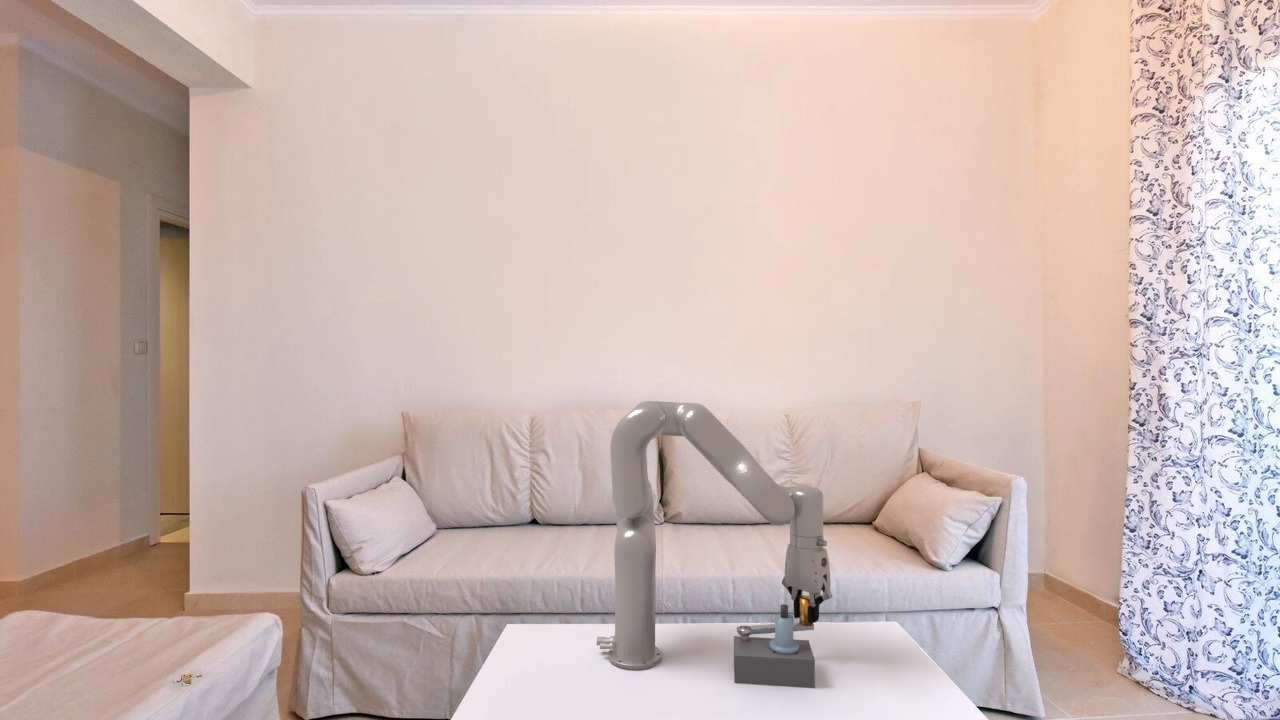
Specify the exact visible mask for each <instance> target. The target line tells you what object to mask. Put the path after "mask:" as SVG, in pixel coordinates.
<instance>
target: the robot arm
mask: <svg viewBox="0 0 1280 720" xmlns="http://www.w3.org/2000/svg"><path fill="white" fill-rule="evenodd" d="M611 435H612V436H611V438H610V449H609V450H610V473H611V484H612V485H611V486H612V495H611V496H612V497H611V498H612V503H613V506H614V509H615V519H616V530H617V531H616V535H615V539H614V540H615V542H614V547H613V548H614V552H613V553H614V555H613V557H614V635H611V636H610V637H605V636H597V637H596V645H597V646H599V649H600V650H608V653H607V655H608V656H607V659H608V660H609V662H610V663H611V664H612V665H614V666H616V667H618V668H621V669H626V670H643V669H644V670H645V669H649V668H652V667H654V666H656V665H659V663H660V662H661V661H662V658H663V656H662V654H663V653H662V649H660V648H659V647H658V646H656V565H657V564H656V561H657V539H656V538H657V536H656V533H657V532H656V524H655V523H656V522H655V514H654V513H655V512H654V510H655V509H654V500H653V488H652V484H651V481H650V480H649V474H648V457H647V449H648V445H649V443H651V441H652V440H654V439H655V438H657V437H658V436H664V437H665V436H666V437H668V436H669V437H684V439H686V440H687V441H688V442H689V443H690V444H691V445H692V446H693V447H694V449H696V451H697V452H699V453H700V455H702V456H703V458H704V459H705V460H707V461H708V463H709V464H710V465H711V466H712V467H713V468H714V469H715V470H716V471H717V472H718V473H719V474H720V475H721V476H722V478H724V480H725V481H727V482H728V483H729V484H730V485H732V487H733V488H735V490H737V492H739V494H740V495H741V496H742V497H743V498H744V499H745V500H746V501H747V502H748V503H749V504H750V505H751V506H752V508H754V509H755V510H756V512H758V513H759V514H760V516H762V517H763V518H764V519H765V521H767V522H768V523H770V524H771V525H774V526H779V527H780V526H785V525H787V524H789V543H788V544H787V548H786V554H785V560H784V561H785V562H784V577H783V578H782V580H781V584H782V586H784V588H785V589H787V591H788V593H789V594H790V598H791V600H792V601H793V618H794V619H799V597H800V596H803V595H804V594H803V592H806V593H809V595H808V596H810V606H809V607H808V622H809V623H810V624H812V623H813V624H815V623H816V622H818V621H819V618H820V605H822V604H823V602H825V601H827V600H830V599H832V598H833V594H832V591H831V568H830V561H829V555H828V551H827V548H825V547H827V546H828V540H825V539H824V494H823V492H822V490H821V489H820V488H816V487H812V486H797V487H791V486H784V485H779V484H778V483H777V482H776V481H775V480H774V479H773V478H772V477H771V476H770V475H769V473H767V471H765V469H764V468H763V467H762V466H761V465H760V464H759V462H758V461H757V460H756V459H755V458H754V456H753V455H752V453H751V451H749V450H748V449H747V448H746V447H745V445H744V444H743V443H742V442H741V441H740V440H738V438H737V437H735V435H733V433H732V432H730V430H729V429H727V428H726V426H725V425H724V424H723V423H722V422H721V420H720V419H718V418H717V417H716V416H715V415H714V414H713V413H712V412H711V411H710V410H709V409H708V408H707V407H706V406H704V405H703V404H700V403H696V402H694V403H693V402H673V401H658V400H656V401H655V400H645V401H641V402H639V403H638V404H637V405H636V406H634V408H633V409H632V410H630V411H629V412H628V413H626V414H625V415H624V416H623V417H622V418H621V419H620V420H619V422H618V423H617V425H616V426H615V428H614V430H613V432H612V434H611ZM821 592H822V593H821Z"/></svg>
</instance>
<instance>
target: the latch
mask: <svg viewBox="0 0 1280 720" xmlns="http://www.w3.org/2000/svg"><path fill="white" fill-rule="evenodd" d="M809 606H810V595H806V594H802V596H800V597H799V618H798V620H799V621H798V622H797V621H796V622H793V632H805V631H815V623H812V624H810V623H809V622H808V607H809ZM736 632H737V634H738V635H739V636H741V635H743V636H749V637H750V636H751V635H752V636H753V635H762V634H763V635H765V634H766V635H767V634H775V623H772V624H758V625H756V624H755V625H740V626H736Z"/></svg>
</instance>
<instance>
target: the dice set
mask: <svg viewBox="0 0 1280 720" xmlns="http://www.w3.org/2000/svg"><path fill="white" fill-rule="evenodd" d="M192 674H193V673H192V672H191V673H188V674H186V675H185V676H186V677H182V683H183V682H184V683H185V684H189V685H188V686H190V685H191V684H192V680H191V677H192ZM198 674H199V675H197V674H196V677H197V676H199V677H198V678H200V677H202V676H203V672H201V674H200V673H198ZM192 678H193V677H192Z"/></svg>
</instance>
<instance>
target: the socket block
mask: <svg viewBox="0 0 1280 720" xmlns="http://www.w3.org/2000/svg"><path fill="white" fill-rule="evenodd" d="M772 639H775V637H773V638H772V637H756V636H750V635H749V636H743V635H739V636H738V635H736V636H735V635H734V636H733V679H734V684H746V685H761V686H772V687H773V686H774V687H775V686H776V687H792V688H805V689H807V688H808V689H815V688H816V687H815V685H816V675H815V674H816V672H815V671H816V659H815V656H814V653H813V650H812V646H811V644H810V640H808V639H794V638H793V640H794V641H796V642H797V643H798V644H799V651H798V652H797V653H796V654H792V655H783V654H778V653H775V652H773V651H772V650H771V649H770V641H771V640H772Z"/></svg>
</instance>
